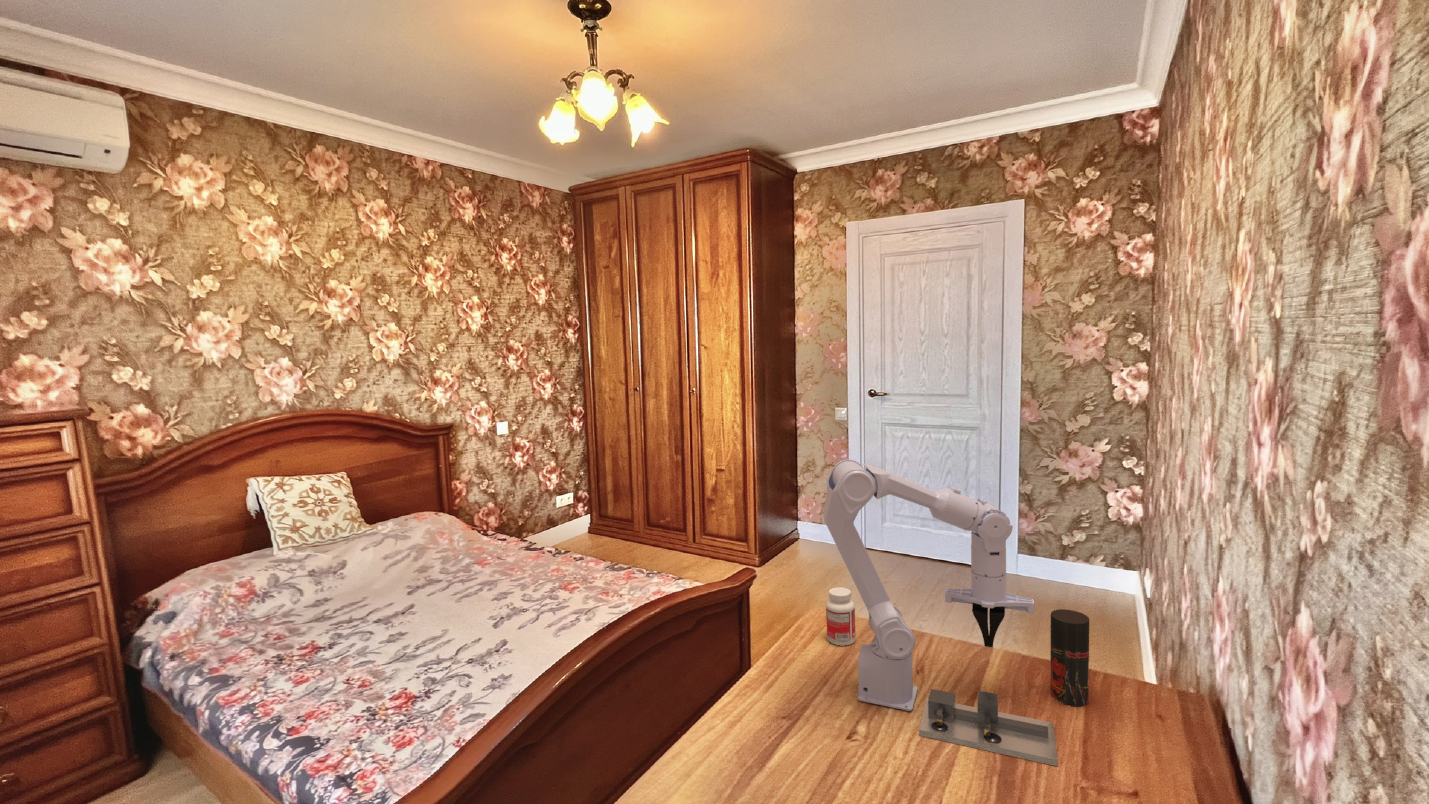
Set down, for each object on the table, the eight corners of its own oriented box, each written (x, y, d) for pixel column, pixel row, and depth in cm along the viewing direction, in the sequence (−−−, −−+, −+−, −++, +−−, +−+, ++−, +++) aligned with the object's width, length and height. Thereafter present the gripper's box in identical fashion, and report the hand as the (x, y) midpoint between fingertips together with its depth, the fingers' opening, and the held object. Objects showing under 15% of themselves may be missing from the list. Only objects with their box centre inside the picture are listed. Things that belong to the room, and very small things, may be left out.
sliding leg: (976, 733, 99) (976, 711, 99) (978, 711, 105) (978, 690, 105) (997, 738, 98) (997, 715, 98) (998, 715, 104) (998, 694, 104)
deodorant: (1094, 708, 107) (1095, 624, 106) (1056, 705, 109) (1057, 623, 107) (1081, 689, 113) (1081, 610, 112) (1045, 687, 114) (1046, 608, 113)
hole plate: (919, 735, 102) (919, 729, 102) (926, 703, 111) (926, 697, 111) (1057, 766, 93) (1057, 759, 93) (1053, 728, 102) (1053, 722, 102)
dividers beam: (926, 726, 103) (926, 708, 103) (931, 704, 109) (930, 688, 108) (1049, 752, 95) (1049, 734, 95) (1047, 728, 101) (1047, 710, 101)
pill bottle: (842, 631, 140) (840, 583, 139) (861, 641, 135) (860, 592, 134) (821, 638, 137) (819, 590, 136) (840, 649, 132) (839, 599, 131)
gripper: (943, 574, 110) (944, 647, 112) (1034, 584, 104) (1034, 662, 105) (947, 561, 117) (947, 630, 118) (1033, 570, 110) (1033, 643, 112)
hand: (988, 644), depth 112 cm, fingers closed
